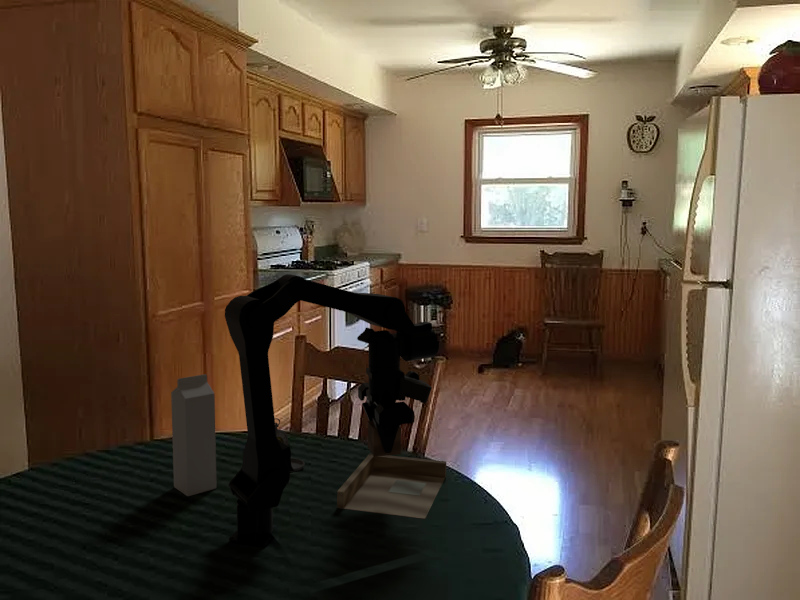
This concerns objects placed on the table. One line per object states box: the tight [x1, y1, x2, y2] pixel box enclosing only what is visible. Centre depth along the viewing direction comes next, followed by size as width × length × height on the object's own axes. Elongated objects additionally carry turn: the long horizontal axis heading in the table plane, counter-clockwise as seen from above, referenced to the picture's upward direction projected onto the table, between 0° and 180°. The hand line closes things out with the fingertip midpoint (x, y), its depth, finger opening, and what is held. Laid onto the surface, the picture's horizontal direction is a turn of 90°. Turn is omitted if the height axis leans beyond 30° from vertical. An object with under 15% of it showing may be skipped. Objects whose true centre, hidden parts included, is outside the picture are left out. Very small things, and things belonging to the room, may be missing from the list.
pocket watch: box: [274, 417, 305, 473], centre depth 142 cm, size 8×8×10 cm
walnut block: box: [367, 420, 402, 457], centre depth 124 cm, size 5×5×5 cm
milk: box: [170, 373, 217, 497], centre depth 130 cm, size 6×6×22 cm
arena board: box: [336, 453, 447, 520], centre depth 128 cm, size 20×16×4 cm
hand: (384, 447), depth 124 cm, fingers closed on walnut block, 5 cm apart
